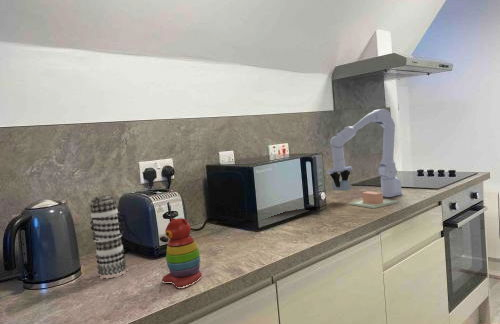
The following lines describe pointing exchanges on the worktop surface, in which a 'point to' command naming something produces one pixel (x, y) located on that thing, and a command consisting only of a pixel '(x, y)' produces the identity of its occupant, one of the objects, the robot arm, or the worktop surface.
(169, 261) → the stacking bear
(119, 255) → the decorative candle
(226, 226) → the worktop surface
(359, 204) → the baseplate
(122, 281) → the worktop surface
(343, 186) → the slate brick
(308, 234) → the worktop surface
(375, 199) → the coral brick
